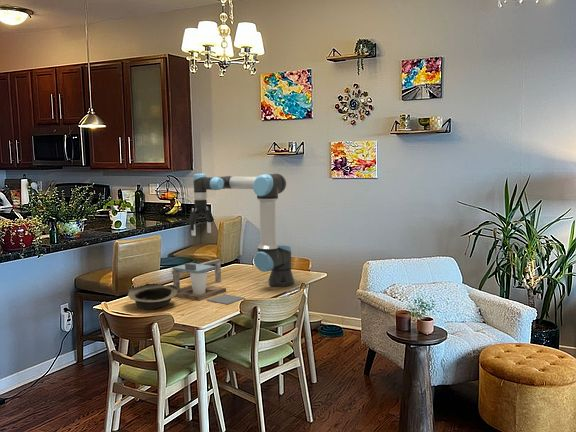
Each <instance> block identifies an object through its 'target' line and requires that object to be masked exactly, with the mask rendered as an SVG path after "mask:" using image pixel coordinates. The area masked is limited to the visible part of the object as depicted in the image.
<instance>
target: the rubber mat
mask: <svg viewBox="0 0 576 432" xmlns="http://www.w3.org/2000/svg"><path fill="white" fill-rule="evenodd" d="M244 299H246V298H245V297H243V296H237V295H231V294H227V293H224V294H223V293H222V294H219V295H218V296H217V295H216V296H215V297H214V296H213V297H210V298H207V299H206V301H207V302H212V303H215V304H216V303H217V304H221V305H222V304H223V305H231V304H233V303H236V302H239V301H242V300H244Z"/></svg>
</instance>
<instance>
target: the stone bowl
mask: <svg viewBox="0 0 576 432" xmlns="http://www.w3.org/2000/svg"><path fill="white" fill-rule="evenodd" d="M177 290H178V289H177V287H175V286H174V285H173V284H167V285H164V284H159V283H145V284H143V285H140V286H139V285H137V286H134V287H132V288H130V289H128V294H127V297H128V298H129V299H130V300H132V301H135V305H136V307H137V308H139V309H142V310H145V311H146V310H158V309H159V308H161V307H164V306H166V305H167V304H168V303H170V302H171V300H172V298H173V297H177V296H176V294H177Z"/></svg>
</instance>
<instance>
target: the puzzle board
mask: <svg viewBox="0 0 576 432" xmlns="http://www.w3.org/2000/svg"><path fill="white" fill-rule="evenodd" d="M221 263H222V259H218V258H217V259H214V260H210V261H209V260H208V261H205V262H201V263H200V264H202V265H210V266H213V265H214V266H215V267H216V269H214V281H215V283H216V284H217V283H221V282H222V272H221V271H222V268H221ZM180 273H185V272H184V271H177V270H173V269H172V270H171V274H172V281H173V282H172V285H174V286H175V287H177V289H178V290H177V294H176V296H175V297H176V298H177V297H178V298H183V299H188V300H192V301H198V302H199V301H203V300H205V299H209V298H212V297H214V296H217V295H222V294H223V293H224V294H225V293H226V292H227V288H226V287H223V286H215V285H209V284H206V291H205V293H204V294H201V295H198V294H193V289H192V284H190V285H186V286H183V287H181V285H180V283H181V282H180V281H181V280H180Z"/></svg>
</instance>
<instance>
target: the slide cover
mask: <svg viewBox="0 0 576 432" xmlns="http://www.w3.org/2000/svg"><path fill="white" fill-rule="evenodd" d="M215 269H216V267H215V265H202V264H201V263H196V262H195V263H194V262H186V263H184V264H181V265H177V266H173V267H172V271H173V270H177V271H184V272H183V273H189V274H190V273H197V274H198V273H202V272H206V271H207V272H209V271H213V270H215Z"/></svg>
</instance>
